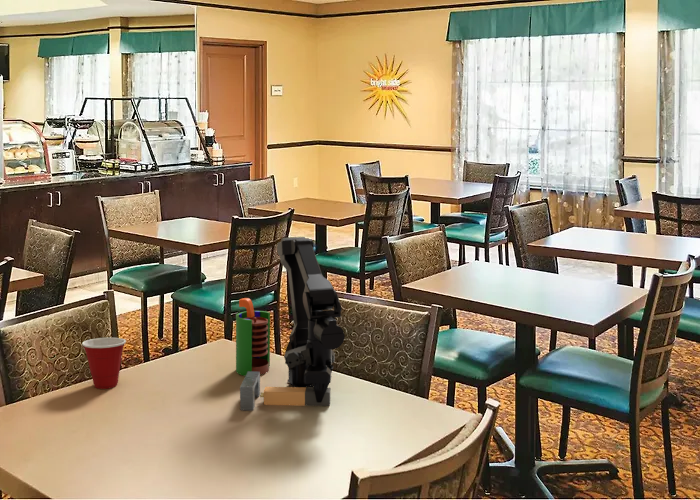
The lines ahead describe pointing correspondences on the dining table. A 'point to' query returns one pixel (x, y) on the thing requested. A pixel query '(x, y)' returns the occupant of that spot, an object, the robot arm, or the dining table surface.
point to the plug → (293, 396)
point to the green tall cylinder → (252, 339)
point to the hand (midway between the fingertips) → (319, 399)
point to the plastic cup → (104, 360)
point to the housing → (249, 390)
